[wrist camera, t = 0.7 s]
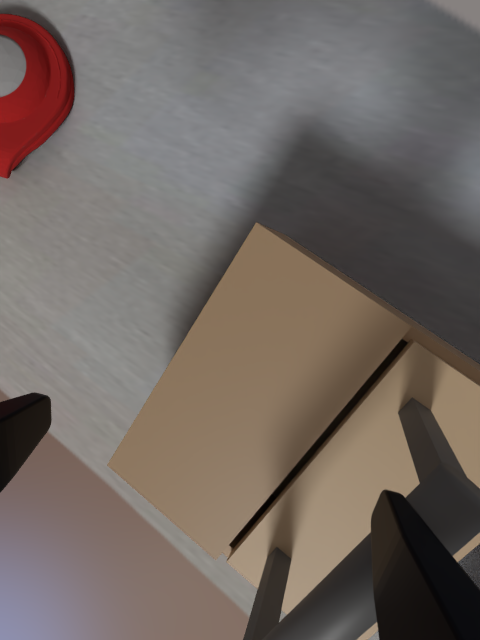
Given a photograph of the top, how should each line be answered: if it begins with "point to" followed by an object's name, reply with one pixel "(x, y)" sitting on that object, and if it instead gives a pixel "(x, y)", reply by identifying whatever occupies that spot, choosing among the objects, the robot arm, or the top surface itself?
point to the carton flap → (365, 501)
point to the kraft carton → (261, 387)
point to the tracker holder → (30, 89)
